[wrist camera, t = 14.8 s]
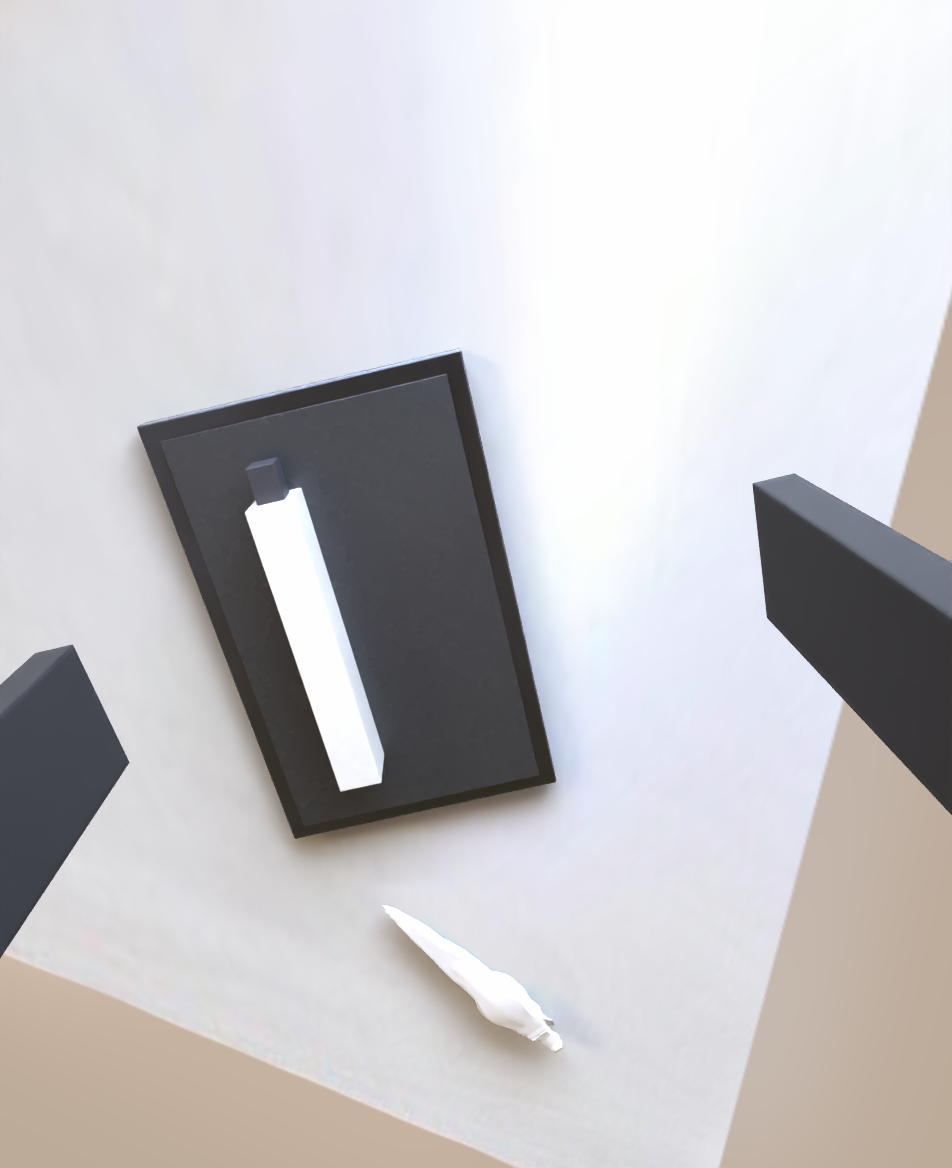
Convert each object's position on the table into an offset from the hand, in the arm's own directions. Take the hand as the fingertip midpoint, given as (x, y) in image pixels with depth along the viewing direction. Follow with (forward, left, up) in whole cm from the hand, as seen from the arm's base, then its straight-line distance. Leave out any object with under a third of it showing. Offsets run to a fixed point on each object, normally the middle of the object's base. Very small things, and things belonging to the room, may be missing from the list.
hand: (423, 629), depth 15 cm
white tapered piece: (+5, +31, -21) cm, 38 cm away
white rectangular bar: (+7, +8, -20) cm, 22 cm away
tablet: (+5, +8, -21) cm, 23 cm away
